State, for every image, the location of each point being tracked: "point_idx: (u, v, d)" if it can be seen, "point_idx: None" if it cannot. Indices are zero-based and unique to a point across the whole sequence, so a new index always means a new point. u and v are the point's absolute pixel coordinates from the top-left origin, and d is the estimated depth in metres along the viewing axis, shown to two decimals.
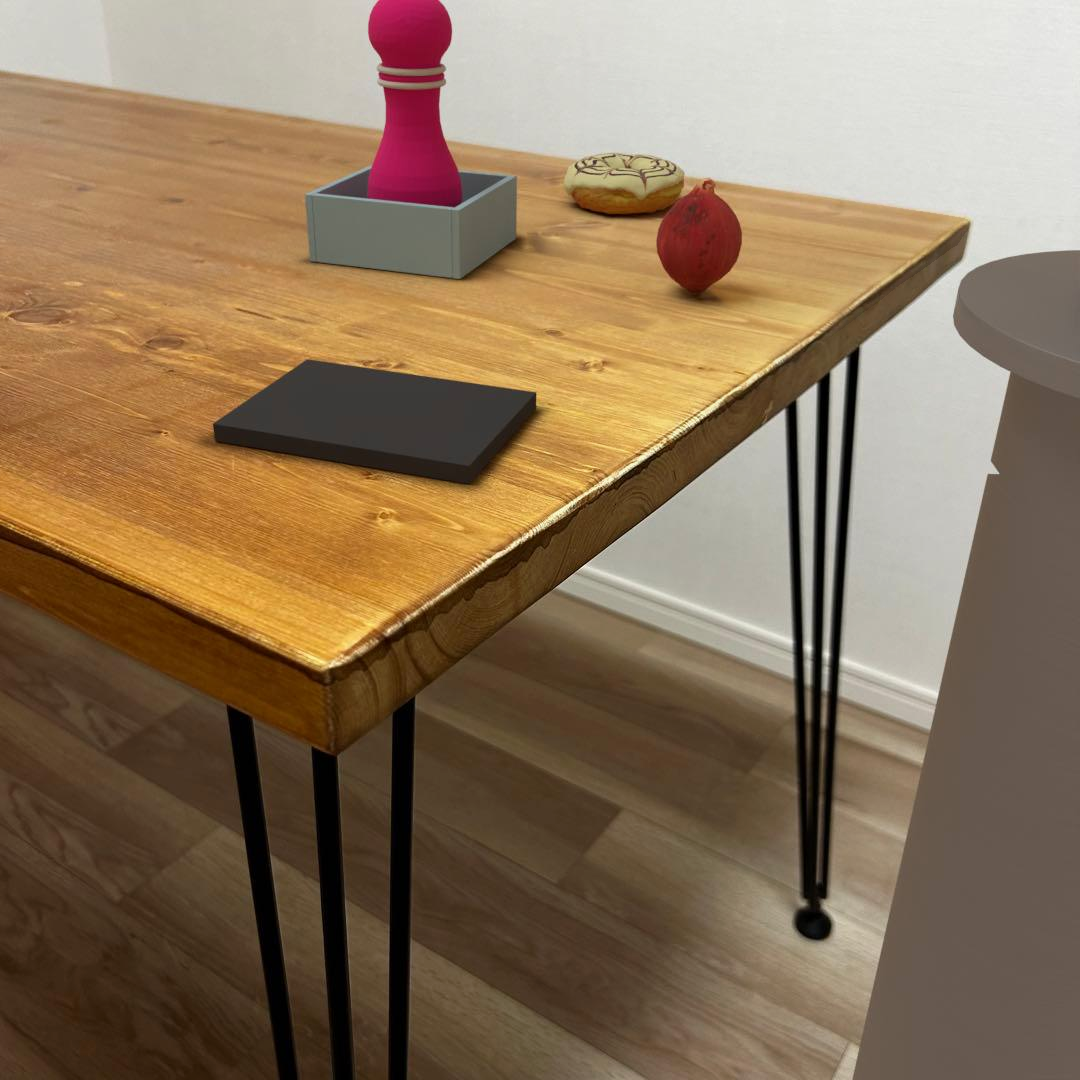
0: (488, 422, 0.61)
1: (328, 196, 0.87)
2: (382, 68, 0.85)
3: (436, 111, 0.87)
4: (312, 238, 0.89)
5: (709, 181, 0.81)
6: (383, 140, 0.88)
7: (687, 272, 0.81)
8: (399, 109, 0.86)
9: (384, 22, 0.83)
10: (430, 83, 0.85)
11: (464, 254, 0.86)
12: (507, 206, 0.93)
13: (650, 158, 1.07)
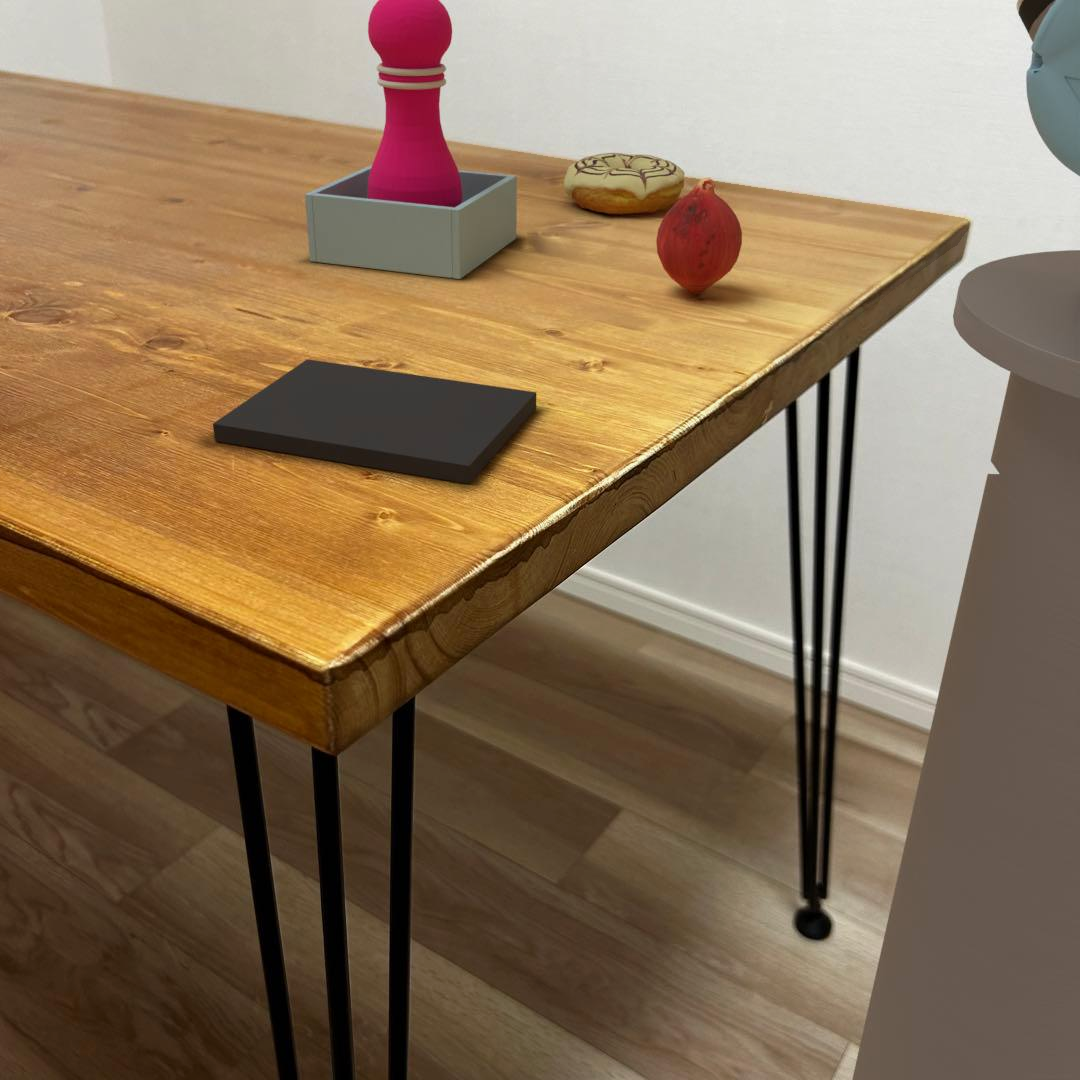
0: (488, 422, 0.61)
1: (328, 196, 0.87)
2: (382, 68, 0.85)
3: (436, 111, 0.87)
4: (312, 238, 0.89)
5: (709, 181, 0.81)
6: (383, 140, 0.88)
7: (687, 272, 0.81)
8: (399, 109, 0.86)
9: (384, 22, 0.83)
10: (430, 83, 0.85)
11: (464, 254, 0.86)
12: (507, 206, 0.93)
13: (650, 158, 1.07)
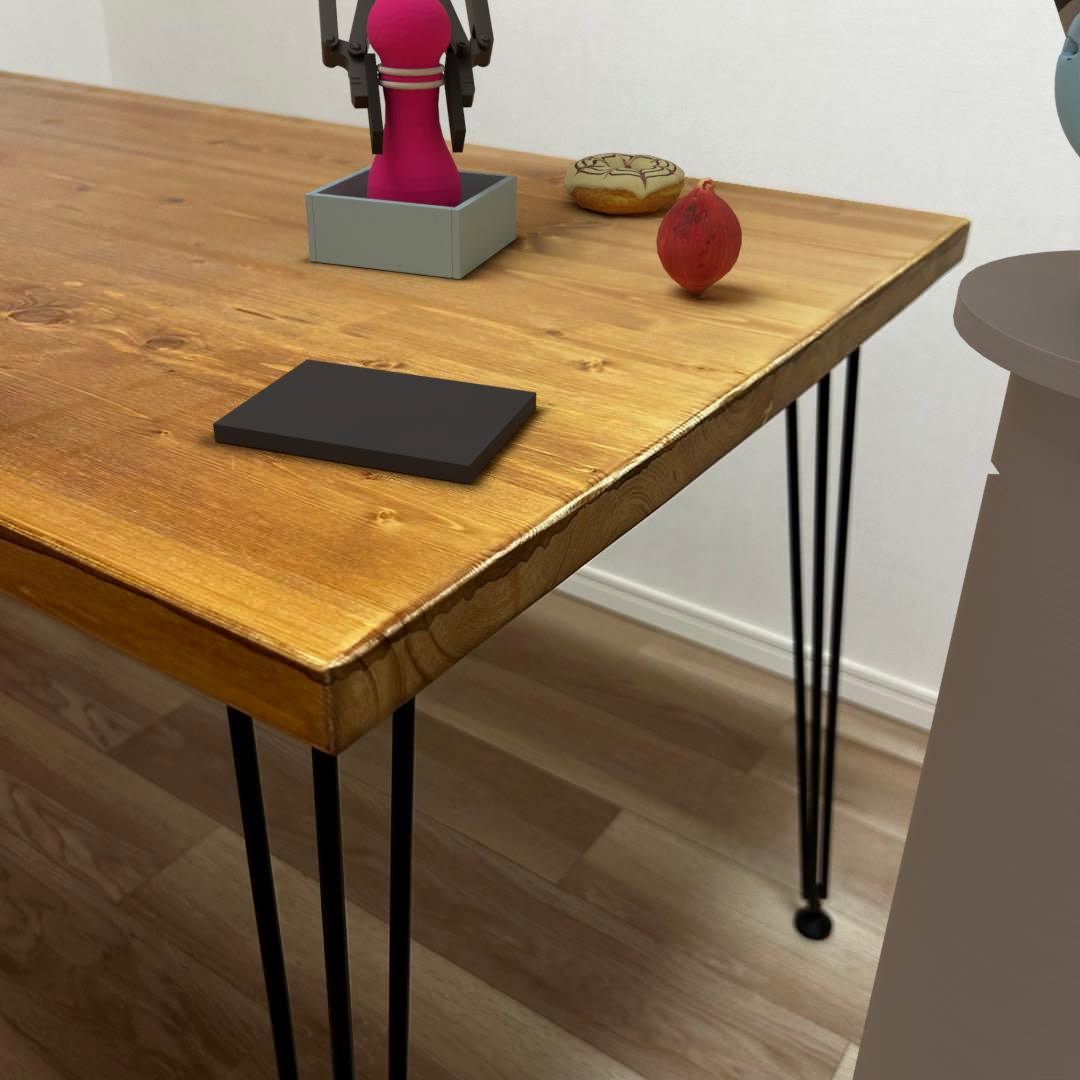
0: (488, 422, 0.61)
1: (328, 196, 0.87)
2: (381, 68, 0.85)
3: (435, 111, 0.87)
4: (312, 238, 0.89)
5: (709, 181, 0.81)
6: None
7: (687, 272, 0.81)
8: (398, 109, 0.86)
9: (383, 22, 0.83)
10: (429, 83, 0.85)
11: (464, 254, 0.86)
12: (507, 206, 0.93)
13: (650, 158, 1.07)
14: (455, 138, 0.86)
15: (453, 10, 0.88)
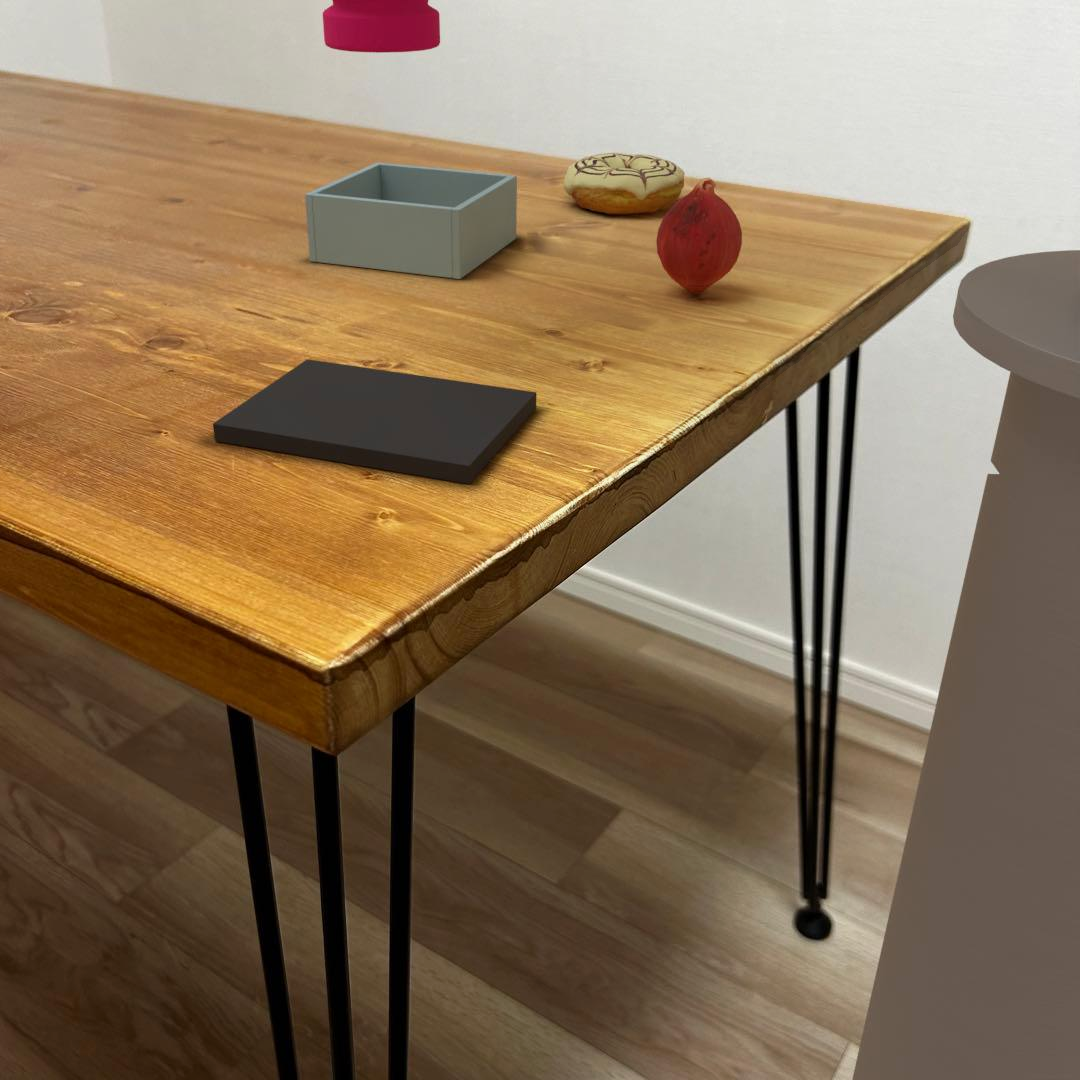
0: (488, 422, 0.61)
1: (328, 196, 0.87)
2: None
3: None
4: (312, 238, 0.89)
5: (709, 181, 0.81)
6: None
7: (687, 272, 0.81)
8: None
9: None
10: None
11: (464, 254, 0.86)
12: (507, 206, 0.93)
13: (650, 158, 1.07)
14: None
15: None
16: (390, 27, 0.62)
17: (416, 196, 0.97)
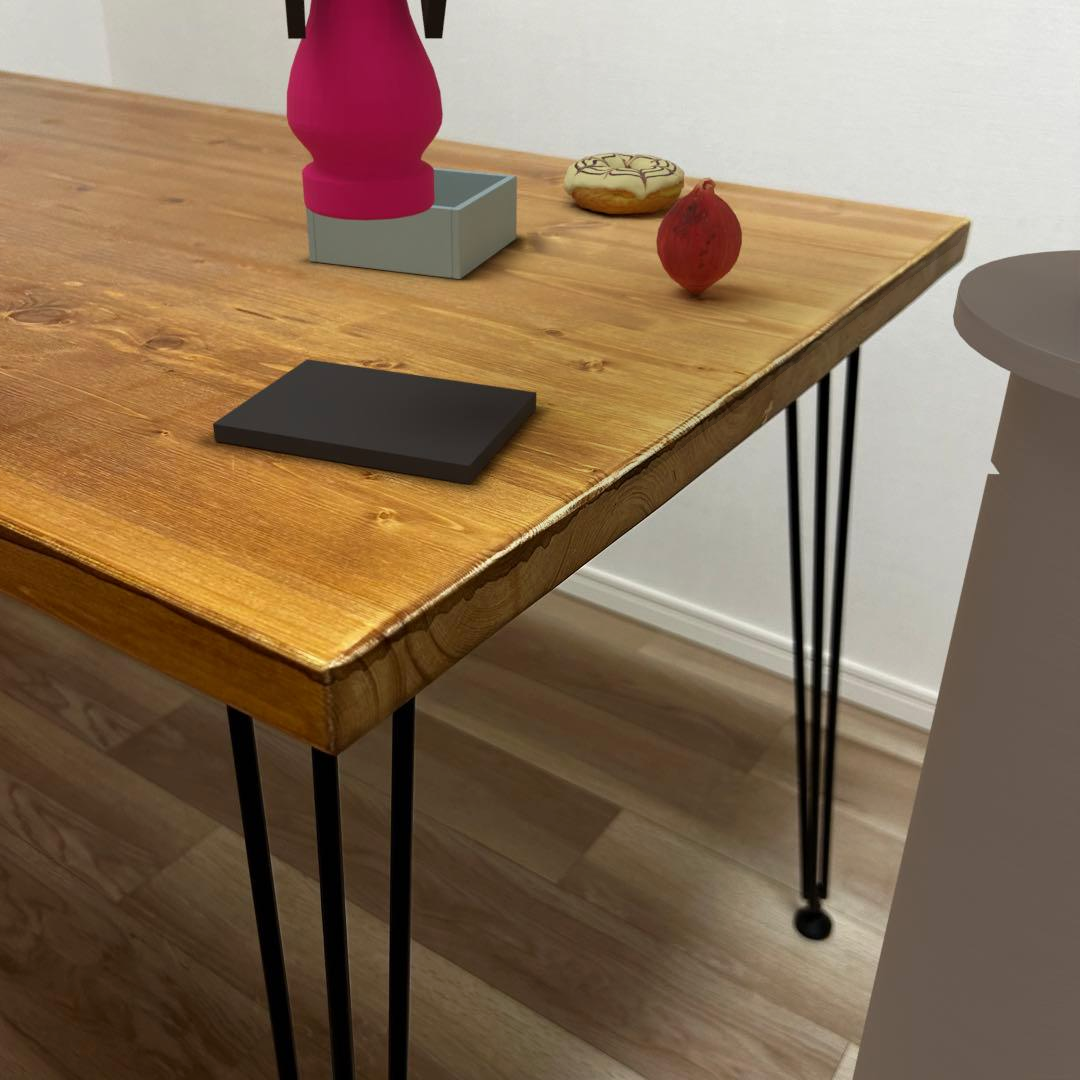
0: (488, 422, 0.61)
1: None
2: None
3: None
4: (312, 238, 0.89)
5: (709, 181, 0.81)
6: (309, 19, 0.53)
7: (687, 272, 0.81)
8: None
9: None
10: None
11: (464, 254, 0.86)
12: (507, 206, 0.93)
13: (650, 158, 1.07)
14: (429, 10, 0.50)
15: None
16: (378, 194, 0.55)
17: None
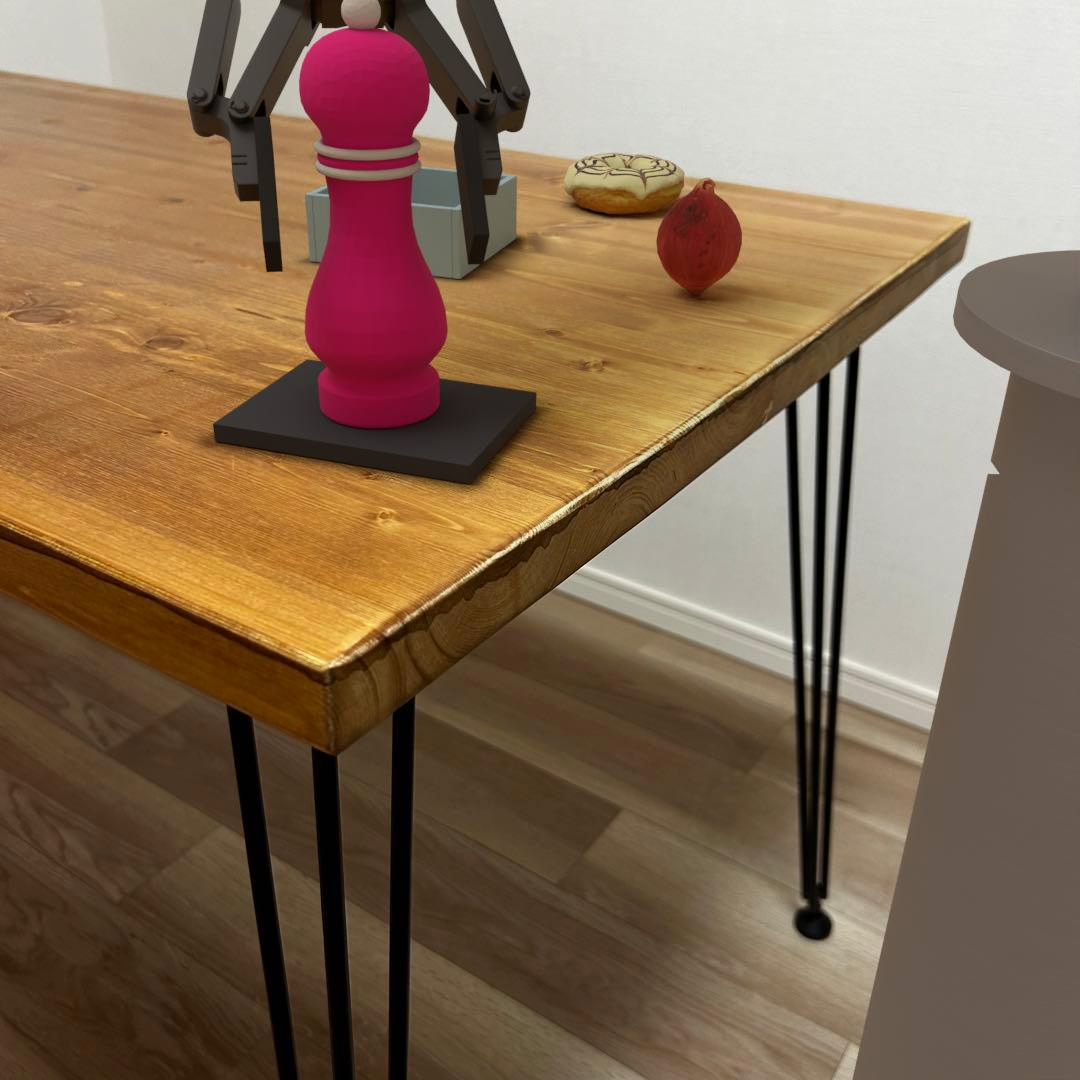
0: (488, 422, 0.61)
1: (328, 196, 0.87)
2: (321, 147, 0.55)
3: (406, 211, 0.57)
4: (312, 238, 0.89)
5: (709, 181, 0.81)
6: (326, 253, 0.58)
7: (687, 272, 0.81)
8: (348, 209, 0.56)
9: (321, 79, 0.53)
10: (396, 171, 0.55)
11: (464, 254, 0.86)
12: (507, 206, 0.93)
13: (650, 158, 1.07)
14: (472, 246, 0.56)
15: (457, 51, 0.58)
16: (389, 407, 0.60)
17: (416, 196, 0.97)
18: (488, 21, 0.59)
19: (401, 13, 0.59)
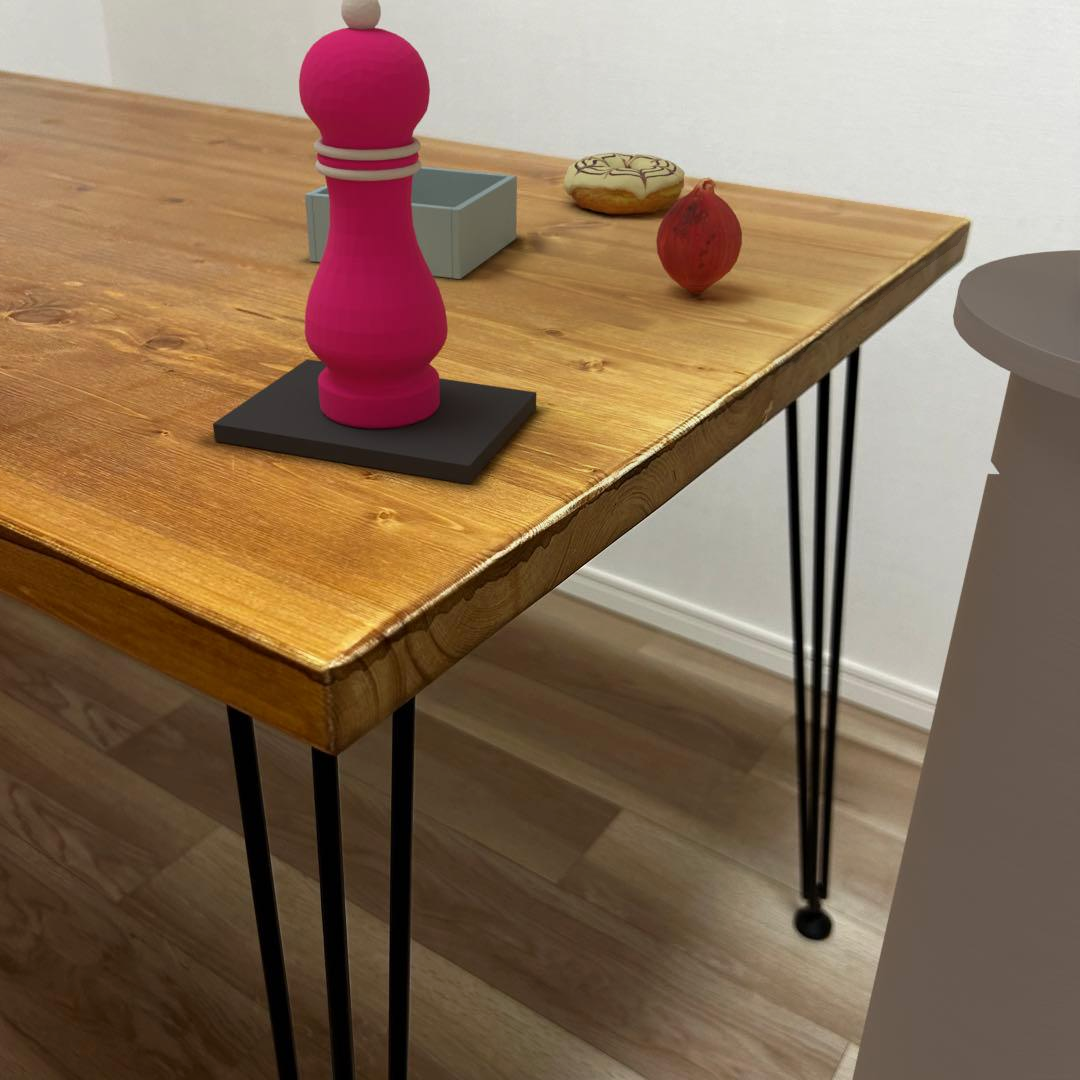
0: (488, 422, 0.61)
1: (328, 196, 0.87)
2: (321, 147, 0.55)
3: (406, 211, 0.57)
4: (312, 238, 0.89)
5: (709, 181, 0.81)
6: (326, 253, 0.58)
7: (687, 272, 0.81)
8: (348, 209, 0.56)
9: (321, 79, 0.53)
10: (395, 170, 0.55)
11: (464, 254, 0.86)
12: (507, 206, 0.93)
13: (650, 158, 1.07)
14: None
15: None
16: (389, 407, 0.60)
17: (416, 196, 0.97)
18: None
19: None
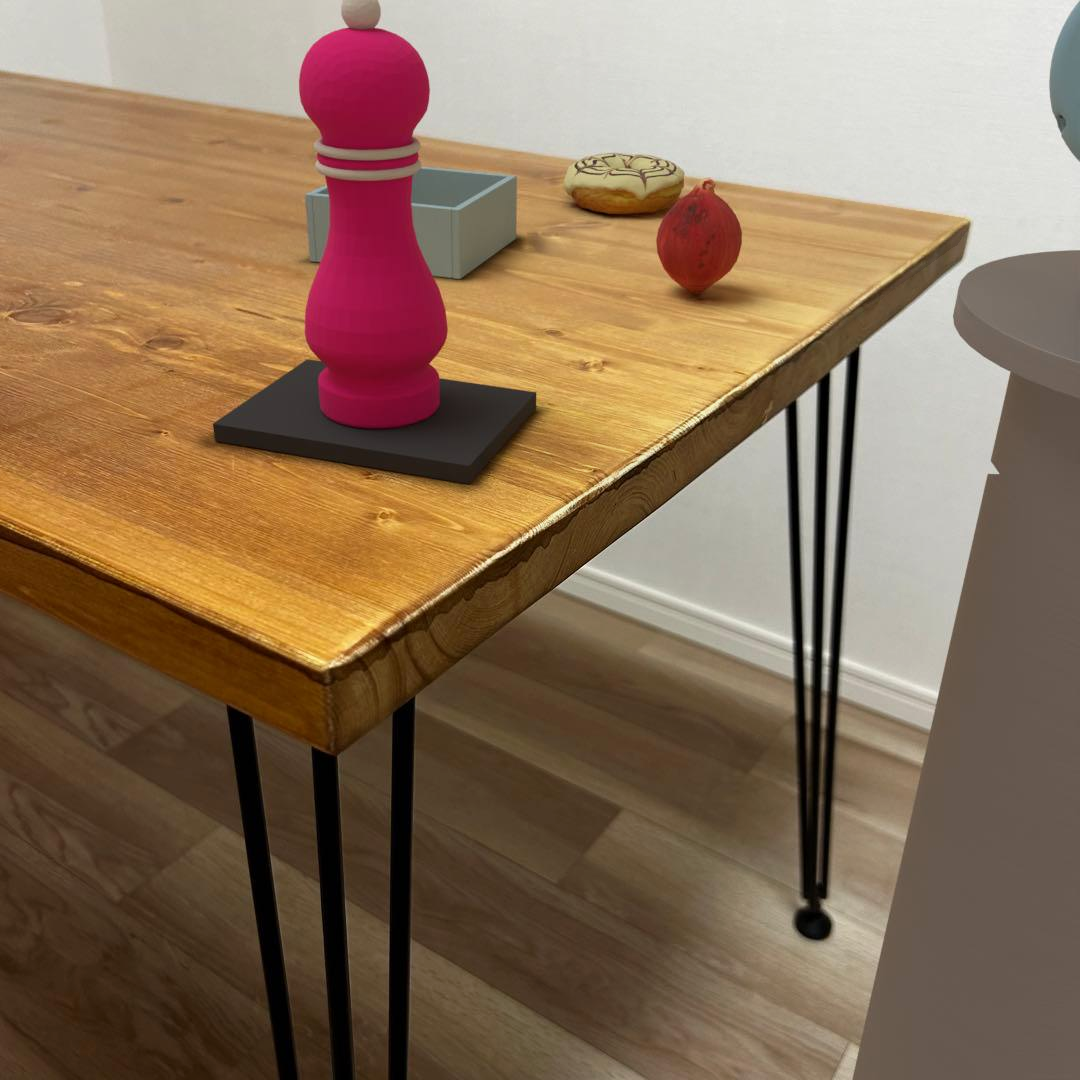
0: (488, 422, 0.61)
1: (328, 196, 0.87)
2: (321, 147, 0.55)
3: (406, 211, 0.57)
4: (312, 238, 0.89)
5: (709, 181, 0.81)
6: (326, 253, 0.58)
7: (687, 272, 0.81)
8: (348, 209, 0.56)
9: (321, 79, 0.53)
10: (395, 170, 0.55)
11: (464, 254, 0.86)
12: (507, 206, 0.93)
13: (650, 158, 1.07)
14: None
15: None
16: (389, 407, 0.60)
17: (416, 196, 0.97)
18: None
19: None
